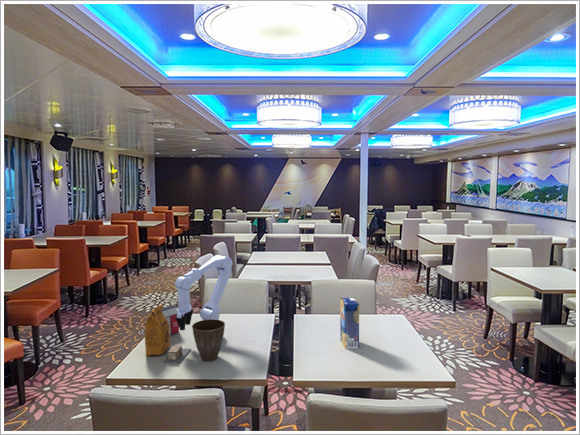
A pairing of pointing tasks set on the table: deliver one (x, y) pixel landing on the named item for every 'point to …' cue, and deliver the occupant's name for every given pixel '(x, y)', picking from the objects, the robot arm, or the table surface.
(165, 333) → the coffee package
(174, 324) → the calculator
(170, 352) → the walnut block
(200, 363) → the table surface
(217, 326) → the plant pot
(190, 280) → the robot arm
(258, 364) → the table surface
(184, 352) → the rubber mat
